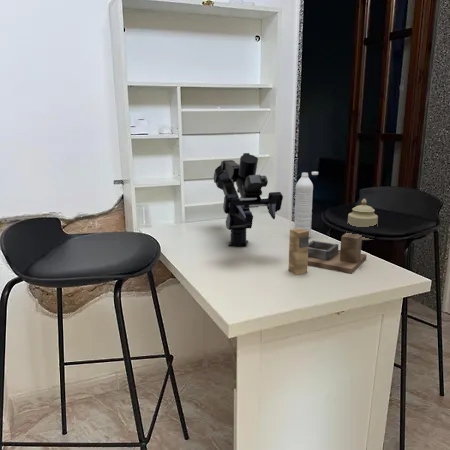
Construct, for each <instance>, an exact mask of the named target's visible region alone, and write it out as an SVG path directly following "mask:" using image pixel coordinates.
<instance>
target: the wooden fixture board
mask: <svg viewBox="0 0 450 450" xmlns="http://www.w3.org/2000/svg"><path fill="white" fill-rule="evenodd" d="M340 238H341V240H340V249H339V244H337V243H330V242H324V241H319V240H311V241H309V245H308V265H307V266H308V267H309V266H310V267H314V268H319V269H325V270H330V271H334V272H335V271H336V272H340V273H345V274H350V275H352V274H353V273H354V272H355V271H356V270H357V269H358V268H359V267H360V266H361V265H362V264H363V263H364V262H365V261H366V260H367V254H366V253H362V242H363V240H362V235H359V234H352V233H347V232H346V233H344V234H342V236H341V237H340Z"/></svg>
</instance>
